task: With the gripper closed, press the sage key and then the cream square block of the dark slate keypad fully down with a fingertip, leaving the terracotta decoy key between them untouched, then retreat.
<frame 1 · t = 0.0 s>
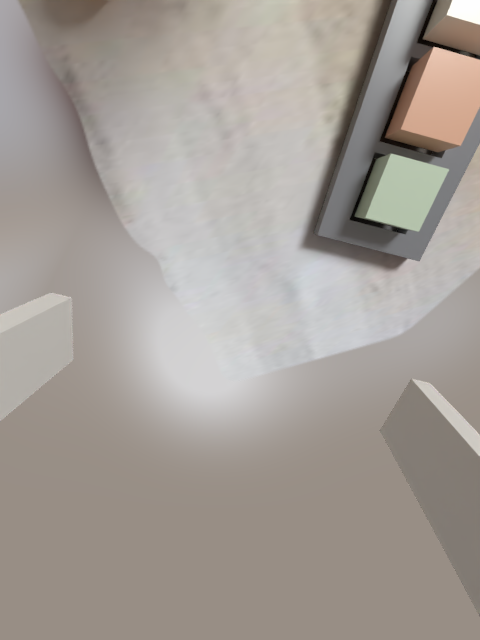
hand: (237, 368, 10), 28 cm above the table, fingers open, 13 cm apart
key o: (397, 195, 29), point 4 cm above the table, slide at 0.0 cm
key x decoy: (436, 105, 26), point 4 cm above the table, slide at 0.0 cm
keypad board: (414, 117, 29), on the table
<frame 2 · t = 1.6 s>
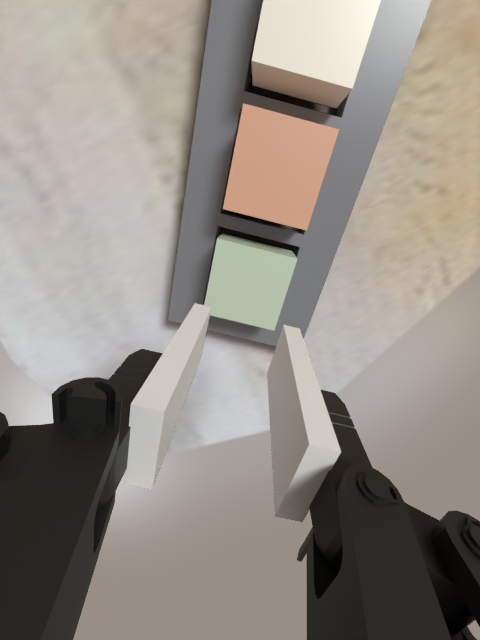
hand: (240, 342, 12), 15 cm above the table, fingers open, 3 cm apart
key o: (248, 281, 22), point 4 cm above the table, slide at 0.0 cm
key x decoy: (275, 174, 19), point 4 cm above the table, slide at 0.0 cm
keypad board: (272, 179, 23), on the table
cream square block: (314, 23, 16), point 4 cm above the table, slide at 0.0 cm
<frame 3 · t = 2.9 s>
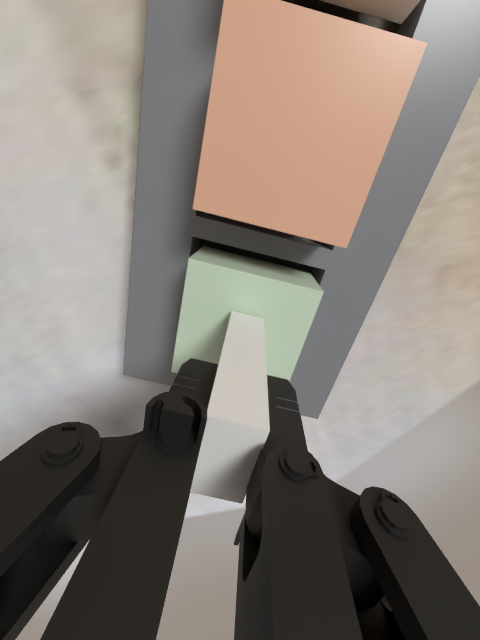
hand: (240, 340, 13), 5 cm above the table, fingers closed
key o: (242, 320, 14), point 3 cm above the table, slide at 0.7 cm, touching gripper
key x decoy: (289, 146, 10), point 4 cm above the table, slide at 0.0 cm
keypad board: (281, 160, 14), on the table
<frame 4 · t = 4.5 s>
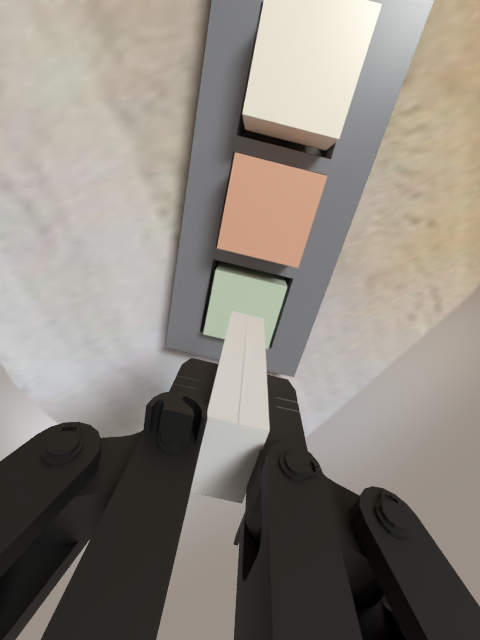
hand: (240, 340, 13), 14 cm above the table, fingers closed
key o: (244, 304, 25), point 2 cm above the table, slide at 2.0 cm
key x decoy: (268, 213, 20), point 4 cm above the table, slide at 0.0 cm
keypad board: (266, 212, 23), on the table
cream square block: (302, 77, 16), point 4 cm above the table, slide at 0.0 cm
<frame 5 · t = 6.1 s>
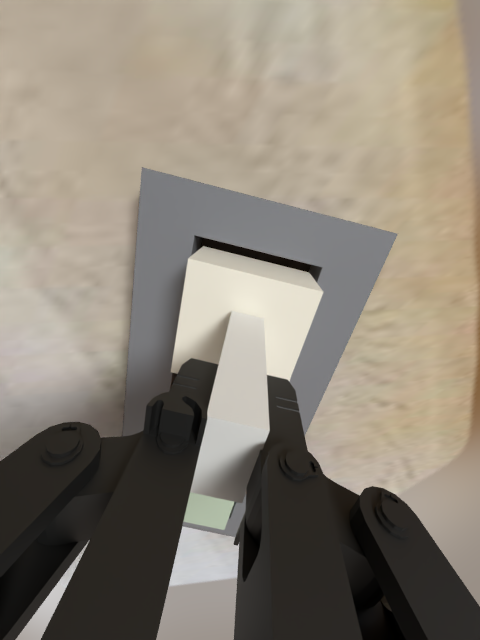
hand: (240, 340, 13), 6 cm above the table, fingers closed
key o: (199, 479, 23), point 2 cm above the table, slide at 2.0 cm
keypad board: (221, 390, 21), on the table
cream square block: (242, 320, 14), point 4 cm above the table, slide at 0.1 cm, touching gripper
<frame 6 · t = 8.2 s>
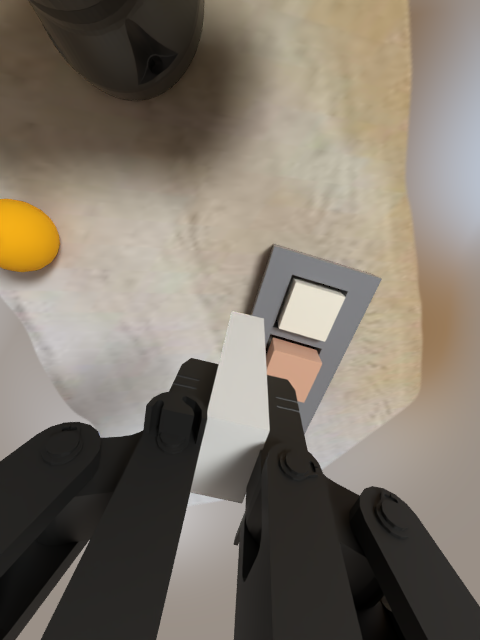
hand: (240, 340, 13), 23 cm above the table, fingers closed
yellow lemon: (41, 234, 34), on the table
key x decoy: (288, 369, 34), point 4 cm above the table, slide at 0.0 cm
keypad board: (285, 354, 38), on the table
cream square block: (308, 308, 33), point 2 cm above the table, slide at 2.0 cm
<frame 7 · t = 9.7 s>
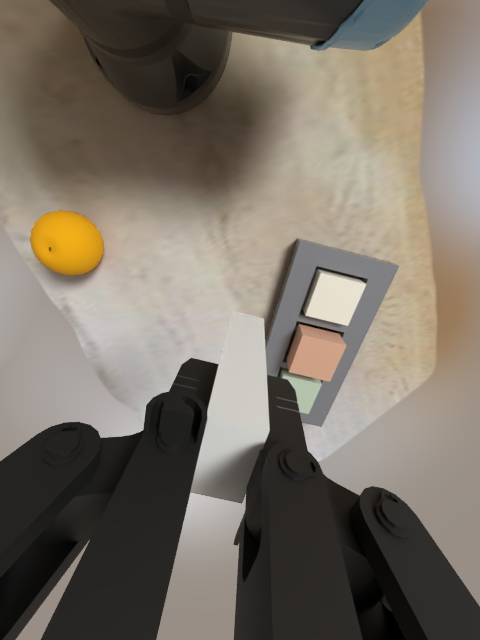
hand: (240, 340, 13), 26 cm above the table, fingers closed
yellow lemon: (85, 240, 38), on the table
key o: (294, 388, 43), point 2 cm above the table, slide at 2.0 cm
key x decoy: (314, 352, 38), point 4 cm above the table, slide at 0.0 cm
keypad board: (309, 339, 42), on the table
cream square block: (331, 296, 37), point 2 cm above the table, slide at 2.0 cm
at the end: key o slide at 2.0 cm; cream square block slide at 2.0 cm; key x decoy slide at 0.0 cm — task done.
